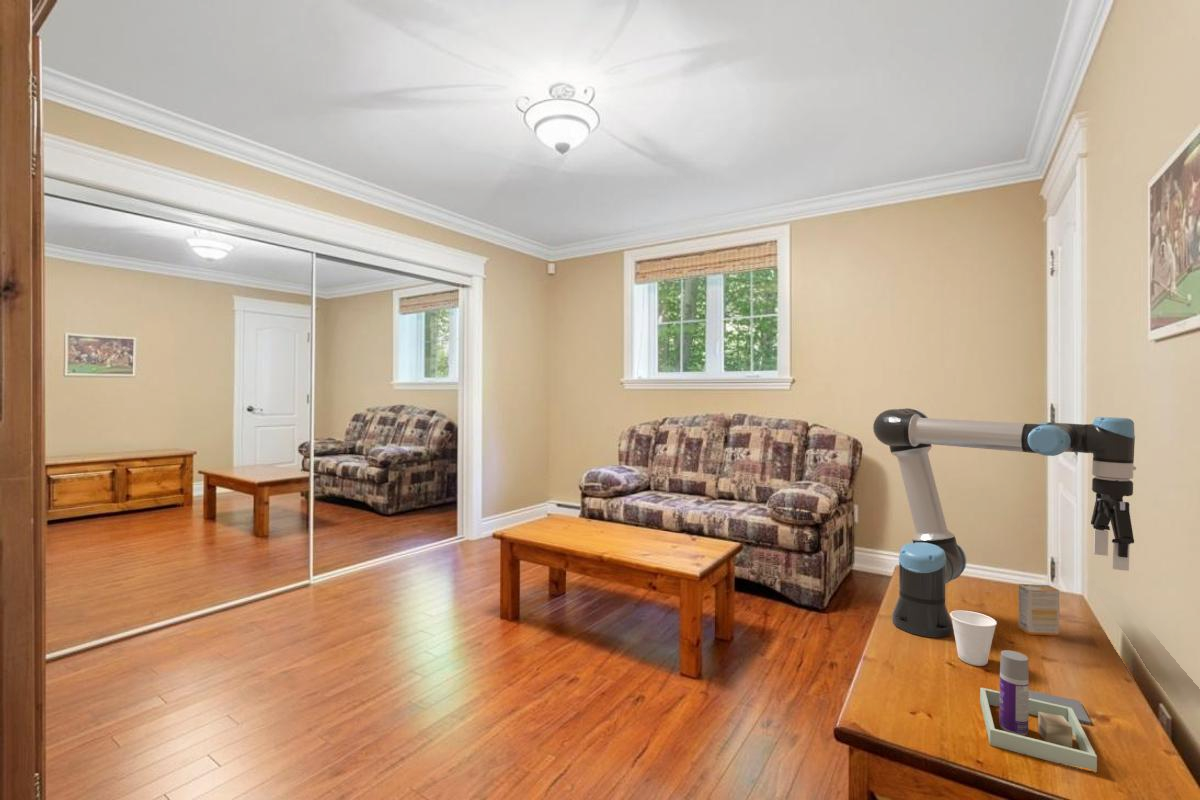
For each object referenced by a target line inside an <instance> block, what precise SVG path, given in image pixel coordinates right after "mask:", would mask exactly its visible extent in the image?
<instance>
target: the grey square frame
mask: <svg viewBox="0 0 1200 800" xmlns="http://www.w3.org/2000/svg"><path fill="white" fill-rule="evenodd" d="M979 690H980V691H979V703H980V707H981V710H982V715H983V720H984V725H985V728H986V729H985V730H986V733H987V737H988V742H989V746H993V747H995V748H1000V749H1004V750H1007V751H1011V752H1015V753H1018V754H1022V755H1025V754H1026V755H1025V756H1030V757H1033V758H1037V759H1041V760H1045V761H1048V762H1053V763H1056V764H1059V763H1062V764H1061V765H1063V764H1068V765H1073V766H1078V767H1083V768H1088V769H1091V770H1094V771H1096V772H1098V770H1097V769H1098V765H1097V764H1098V756H1097V754H1096V752H1095V750H1094V748H1093V747H1092V745H1091V742H1090V741H1089V739H1088V737H1087V734H1086V733H1085V731H1084V729H1083V727H1082V725H1081V723H1080V722H1079V721H1078V719H1077V717H1076V715H1075V713H1074V711H1073V709H1072V708H1070V707H1066V706H1061V705H1057V704H1052V703H1048V702H1044V701H1039V700H1035V699H1030V697H1029V705H1028V715H1032V716H1037V717H1038V712H1043V713H1049V714H1055V715H1061V716H1063V717H1064V718H1065V719H1066V720H1067V722H1068V723H1069V724H1070V725H1071V726H1072V736H1073V738H1074V739H1075V742H1076V744H1077V743H1078V744H1077V746H1078V745H1079V746H1078V748H1079V747H1080V748H1079V749H1077V748H1073V747H1066V746H1061V745H1057V744H1053V743H1049V742H1046V741H1045V740H1041V739H1036V738H1033V737H1028V736H1026V735H1025V736H1021V735H1017V734H1013V733H1009V732H1007V731H1005V730H1003V729H1002V730H1001V729H997V728H995V724H994V720H993V716H992V712H991V708H990V706H994V707H998V708H1000V690H994V689H991V688H985V687H980V688H979ZM1080 749H1081V750H1080Z"/></svg>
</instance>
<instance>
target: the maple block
mask: <svg viewBox="0 0 1200 800" xmlns="http://www.w3.org/2000/svg"><path fill="white" fill-rule="evenodd" d="M1037 723H1038V724H1037V731H1038V733H1039V734H1040V736H1041V737H1042V738H1043V741H1045V742H1049V743H1053V744H1057V745H1061V746H1065V747H1069V748H1073V733H1072V726H1071V725H1070V724H1069V723H1068V722H1067V720H1066V719H1065V718H1064V717H1063V716H1061V715H1055V714H1049V713H1043V712H1038V716H1037Z"/></svg>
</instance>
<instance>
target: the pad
mask: <svg viewBox="0 0 1200 800" xmlns="http://www.w3.org/2000/svg"><path fill="white" fill-rule="evenodd" d="M1029 698H1030V699H1035V700H1039V701H1044V702H1048V703H1052V704H1057V705H1061V706H1066V707H1070V708H1072V709H1073V711H1074V713H1075V715H1076V717H1077V719H1078V721H1079V723H1080V724H1084V723H1085V725H1088V724H1090V725H1089V726H1092V722H1091V719H1090V718H1089V716H1088V714H1087V712H1086V710H1085V708H1084V707H1083V705H1082V703H1081V701H1080V700H1078V699H1077V700H1076V699H1073V698H1068V697H1065V696H1059V695H1055V694H1049V693H1044V692H1040V691H1035V690H1030V689H1029Z"/></svg>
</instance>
